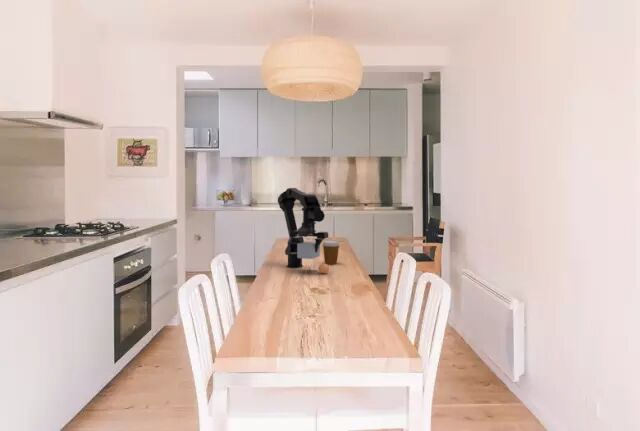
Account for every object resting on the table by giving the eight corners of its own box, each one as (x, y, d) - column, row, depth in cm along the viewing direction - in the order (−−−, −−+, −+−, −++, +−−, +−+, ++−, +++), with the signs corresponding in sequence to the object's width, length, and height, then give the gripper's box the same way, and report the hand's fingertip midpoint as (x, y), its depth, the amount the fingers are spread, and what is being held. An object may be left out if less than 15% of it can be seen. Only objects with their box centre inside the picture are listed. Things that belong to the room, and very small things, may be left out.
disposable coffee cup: (339, 265, 261) (340, 242, 260) (321, 265, 261) (322, 242, 260) (339, 262, 271) (339, 240, 270) (322, 262, 271) (322, 240, 270)
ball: (316, 274, 237) (317, 263, 237) (320, 272, 242) (321, 262, 241) (326, 275, 235) (326, 264, 235) (330, 273, 240) (330, 263, 239)
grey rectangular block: (297, 257, 240) (297, 243, 239) (305, 255, 249) (305, 241, 248) (311, 259, 237) (311, 244, 236) (319, 256, 246) (319, 242, 245)
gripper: (284, 220, 238) (284, 252, 239) (320, 222, 231) (319, 255, 232) (294, 219, 248) (294, 249, 249) (328, 220, 241) (328, 252, 242)
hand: (308, 251), depth 243 cm, fingers closed on grey rectangular block, 8 cm apart
